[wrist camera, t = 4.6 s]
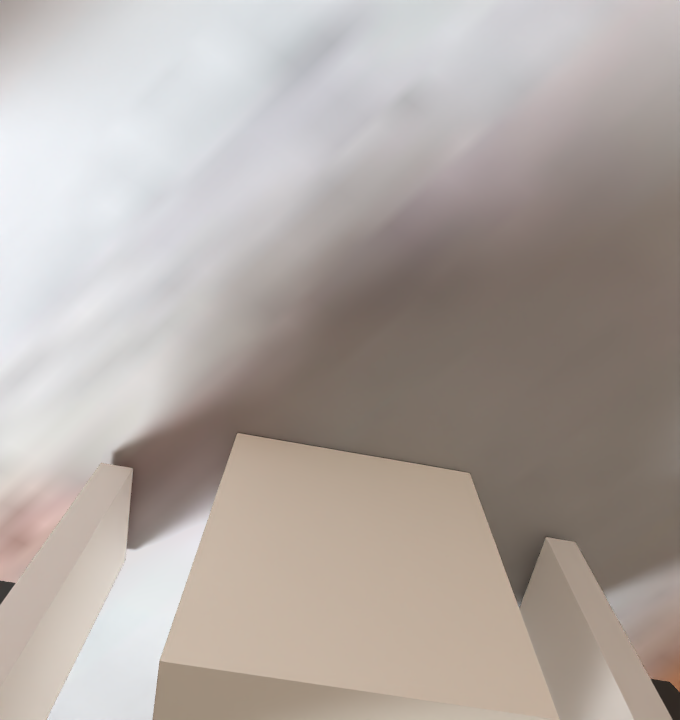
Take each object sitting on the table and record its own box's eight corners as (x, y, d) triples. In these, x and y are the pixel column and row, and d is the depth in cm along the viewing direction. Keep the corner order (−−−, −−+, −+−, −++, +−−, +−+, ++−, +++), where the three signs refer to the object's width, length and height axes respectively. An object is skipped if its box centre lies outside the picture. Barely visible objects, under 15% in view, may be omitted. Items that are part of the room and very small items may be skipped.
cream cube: (209, 618, 16) (130, 913, 10) (237, 432, 15) (159, 660, 8) (415, 649, 17) (457, 953, 11) (469, 472, 15) (560, 720, 9)
